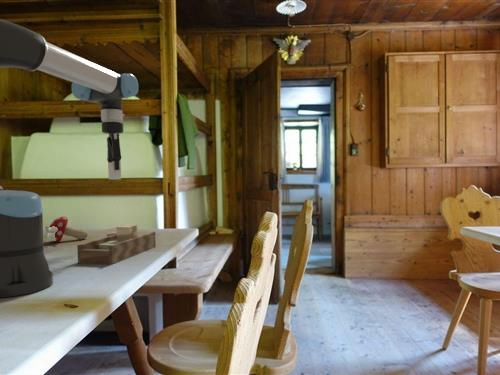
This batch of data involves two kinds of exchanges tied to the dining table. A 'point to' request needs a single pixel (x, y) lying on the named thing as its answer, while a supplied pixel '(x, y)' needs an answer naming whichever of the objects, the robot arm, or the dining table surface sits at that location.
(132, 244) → the box
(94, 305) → the dining table surface
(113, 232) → the brick
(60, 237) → the decorative mushroom
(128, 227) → the maple block
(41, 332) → the dining table surface
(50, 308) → the dining table surface
